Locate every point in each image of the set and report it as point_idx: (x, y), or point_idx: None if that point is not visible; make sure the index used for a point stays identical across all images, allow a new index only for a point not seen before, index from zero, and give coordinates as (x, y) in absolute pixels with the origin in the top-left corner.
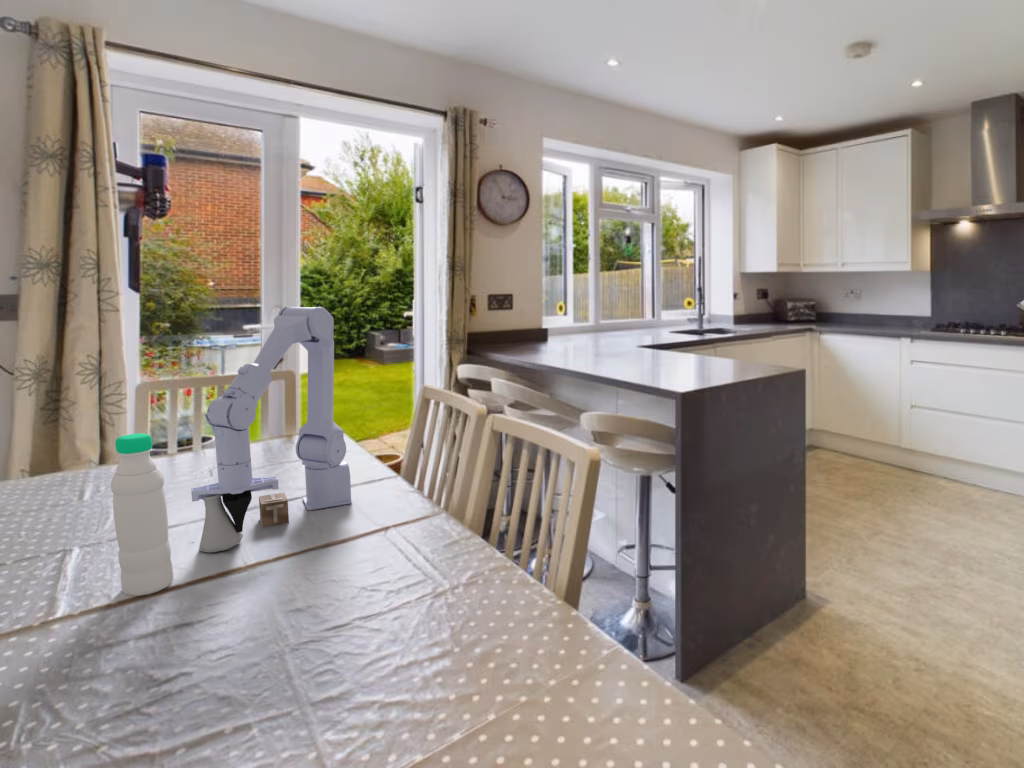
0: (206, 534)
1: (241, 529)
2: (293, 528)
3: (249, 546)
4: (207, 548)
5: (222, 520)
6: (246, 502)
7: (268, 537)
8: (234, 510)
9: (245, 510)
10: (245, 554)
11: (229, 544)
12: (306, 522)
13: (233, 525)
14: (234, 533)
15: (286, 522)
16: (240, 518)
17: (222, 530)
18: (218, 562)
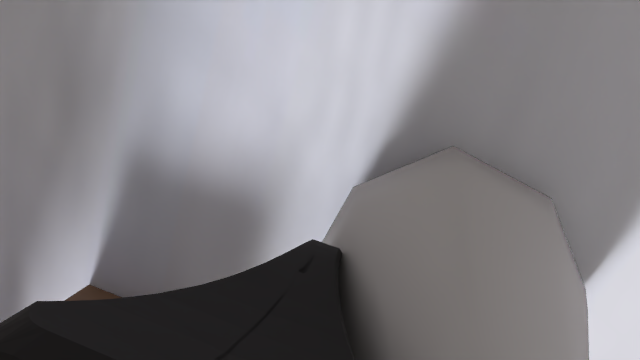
0: (572, 320)
1: (309, 241)
2: (81, 207)
3: (314, 146)
4: (561, 233)
5: (443, 331)
6: (94, 318)
7: (201, 191)
8: (296, 342)
9: (193, 289)
10: (369, 43)
11: (427, 169)
12: (23, 230)
13: (345, 303)
14: (367, 228)
15: (95, 290)
16: (279, 277)
17: (462, 249)
18: (556, 32)
